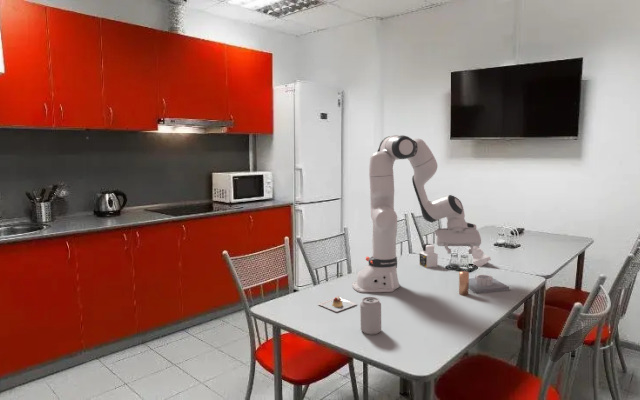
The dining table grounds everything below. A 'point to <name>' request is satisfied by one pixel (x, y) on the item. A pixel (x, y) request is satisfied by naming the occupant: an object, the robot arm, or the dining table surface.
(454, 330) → the dining table surface
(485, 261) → the soft serve ice cream
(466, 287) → the copper tube
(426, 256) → the medicine bottle
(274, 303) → the dining table surface
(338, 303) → the dessert
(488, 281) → the collar plate
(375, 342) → the dining table surface
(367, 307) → the can
